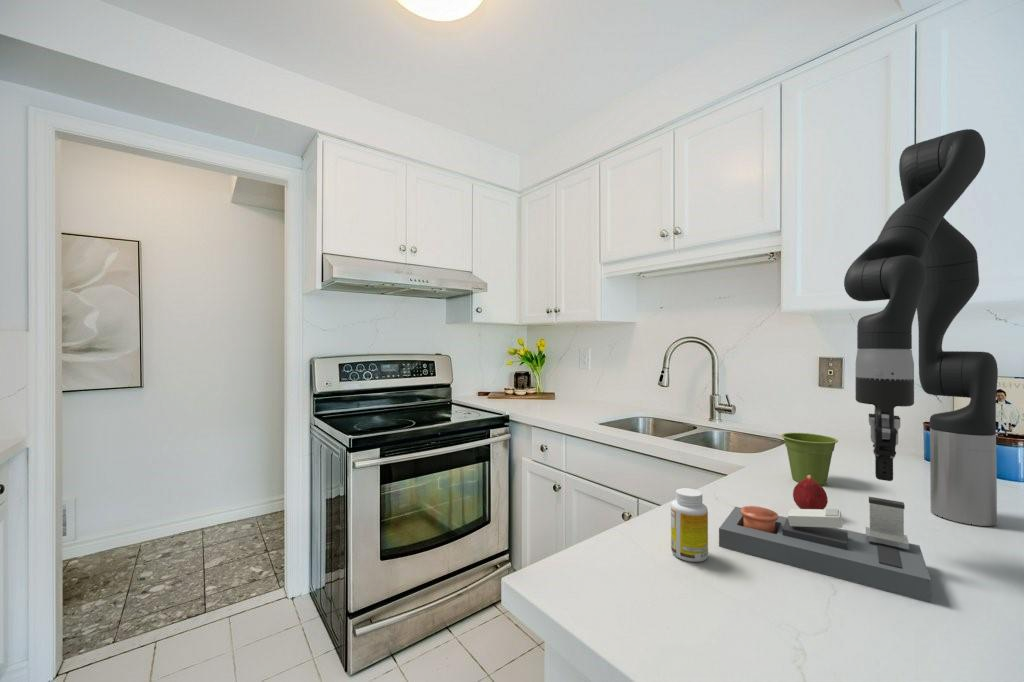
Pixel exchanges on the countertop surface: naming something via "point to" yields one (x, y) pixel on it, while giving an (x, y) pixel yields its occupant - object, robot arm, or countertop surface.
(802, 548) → the control panel
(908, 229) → the robot arm
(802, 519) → the rocker switch
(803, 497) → the onion
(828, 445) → the plant pot
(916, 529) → the countertop surface
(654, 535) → the countertop surface
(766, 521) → the push button
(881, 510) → the slide paddle
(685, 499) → the supplement bottle
